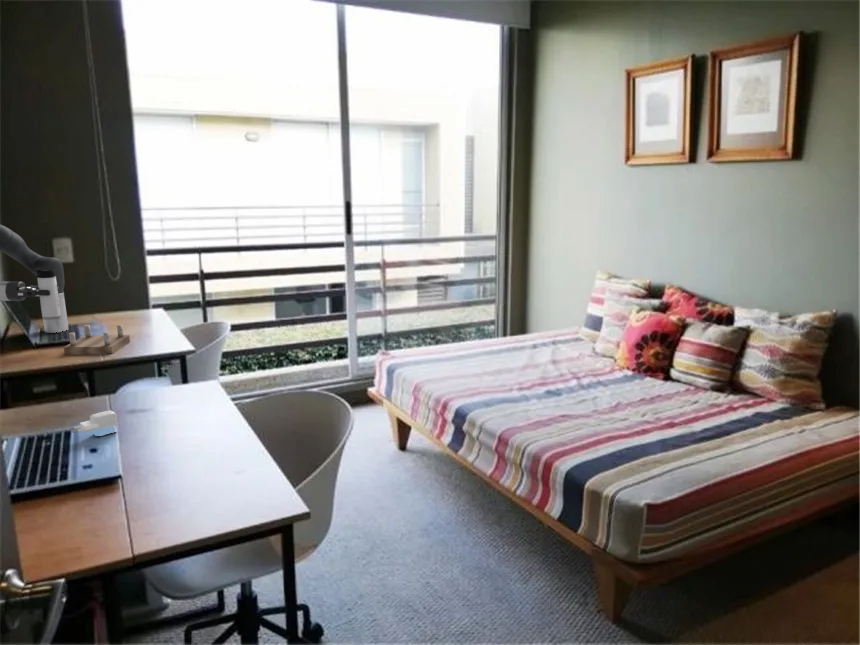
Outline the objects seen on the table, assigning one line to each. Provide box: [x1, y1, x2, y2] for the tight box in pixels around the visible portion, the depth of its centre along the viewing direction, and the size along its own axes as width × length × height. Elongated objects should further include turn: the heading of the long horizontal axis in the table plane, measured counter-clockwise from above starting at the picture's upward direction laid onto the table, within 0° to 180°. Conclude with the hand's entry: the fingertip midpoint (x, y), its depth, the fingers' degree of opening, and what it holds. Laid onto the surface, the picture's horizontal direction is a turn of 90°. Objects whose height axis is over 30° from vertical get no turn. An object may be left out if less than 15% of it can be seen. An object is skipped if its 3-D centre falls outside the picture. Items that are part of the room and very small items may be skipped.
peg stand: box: [63, 324, 131, 356], centre depth 251 cm, size 18×18×8 cm
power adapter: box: [68, 409, 119, 434], centre depth 166 cm, size 11×5×6 cm, turn 137°
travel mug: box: [36, 269, 61, 320], centre depth 245 cm, size 6×7×20 cm
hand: (54, 291), depth 245 cm, fingers closed on travel mug, 6 cm apart
